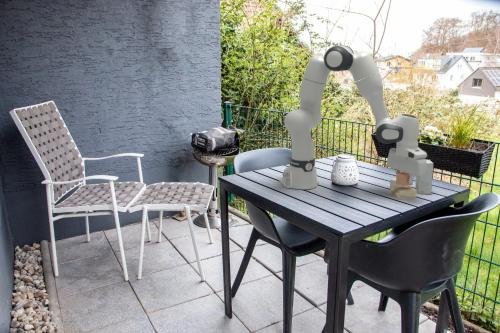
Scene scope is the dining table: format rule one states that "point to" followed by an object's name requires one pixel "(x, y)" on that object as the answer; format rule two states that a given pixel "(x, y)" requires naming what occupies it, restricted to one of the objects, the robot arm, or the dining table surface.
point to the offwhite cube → (393, 182)
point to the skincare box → (425, 180)
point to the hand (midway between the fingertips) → (404, 180)
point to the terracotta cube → (403, 179)
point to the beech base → (403, 192)
